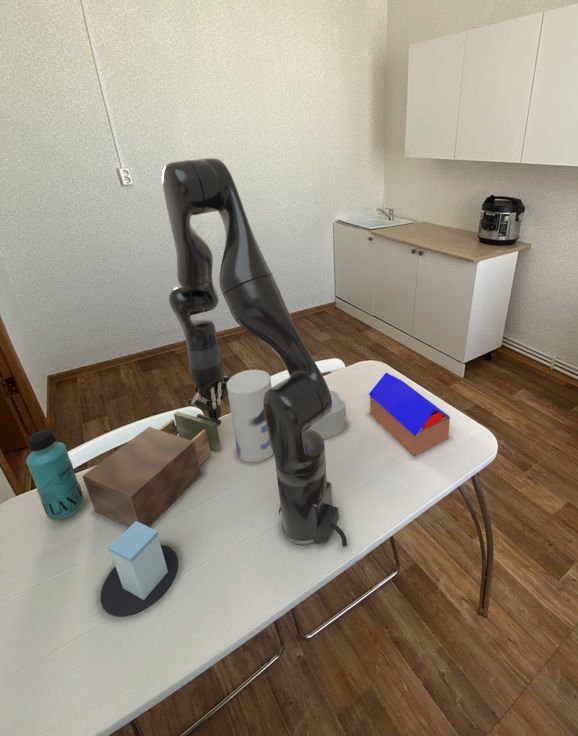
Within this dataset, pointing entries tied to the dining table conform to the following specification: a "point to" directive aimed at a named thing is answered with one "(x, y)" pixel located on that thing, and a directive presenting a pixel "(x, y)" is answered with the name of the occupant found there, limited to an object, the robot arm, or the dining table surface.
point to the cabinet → (143, 477)
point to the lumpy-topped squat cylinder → (332, 418)
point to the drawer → (196, 432)
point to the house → (408, 415)
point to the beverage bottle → (53, 475)
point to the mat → (127, 603)
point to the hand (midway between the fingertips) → (215, 417)
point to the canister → (139, 559)
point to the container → (250, 414)
